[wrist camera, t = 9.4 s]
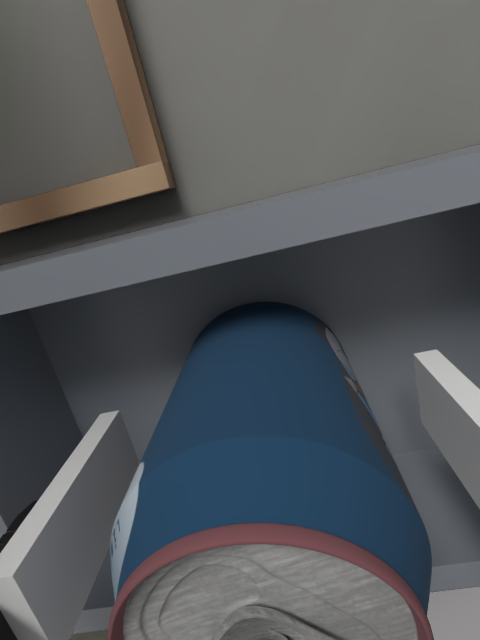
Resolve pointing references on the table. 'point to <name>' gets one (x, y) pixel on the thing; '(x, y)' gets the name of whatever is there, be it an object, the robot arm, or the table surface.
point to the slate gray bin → (242, 288)
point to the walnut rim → (138, 124)
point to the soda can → (268, 499)
